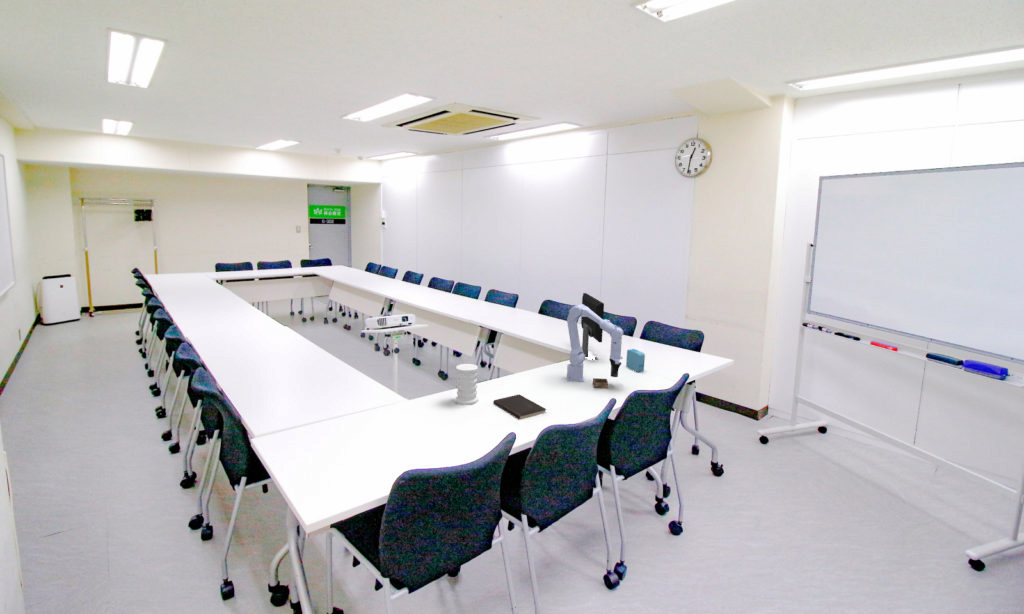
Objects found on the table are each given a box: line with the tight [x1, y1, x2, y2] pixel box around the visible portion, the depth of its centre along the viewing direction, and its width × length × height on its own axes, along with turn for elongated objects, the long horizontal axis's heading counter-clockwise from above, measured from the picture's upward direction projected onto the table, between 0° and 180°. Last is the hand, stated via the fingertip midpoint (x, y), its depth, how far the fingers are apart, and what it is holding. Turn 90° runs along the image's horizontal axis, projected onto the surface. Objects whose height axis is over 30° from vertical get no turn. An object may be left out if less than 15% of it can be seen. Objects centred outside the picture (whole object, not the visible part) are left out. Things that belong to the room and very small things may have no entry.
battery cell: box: [610, 363, 619, 378], centre depth 274 cm, size 4×4×7 cm
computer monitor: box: [580, 292, 605, 361], centre depth 331 cm, size 41×8×40 cm, turn 8°
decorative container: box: [455, 363, 479, 406], centre depth 249 cm, size 12×12×18 cm
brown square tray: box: [592, 377, 609, 389], centre depth 276 cm, size 8×8×3 cm
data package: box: [625, 348, 646, 373], centre depth 305 cm, size 12×4×12 cm, turn 24°
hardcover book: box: [492, 394, 547, 420], centre depth 243 cm, size 16×23×2 cm
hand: (614, 372), depth 274 cm, fingers closed on battery cell, 4 cm apart
